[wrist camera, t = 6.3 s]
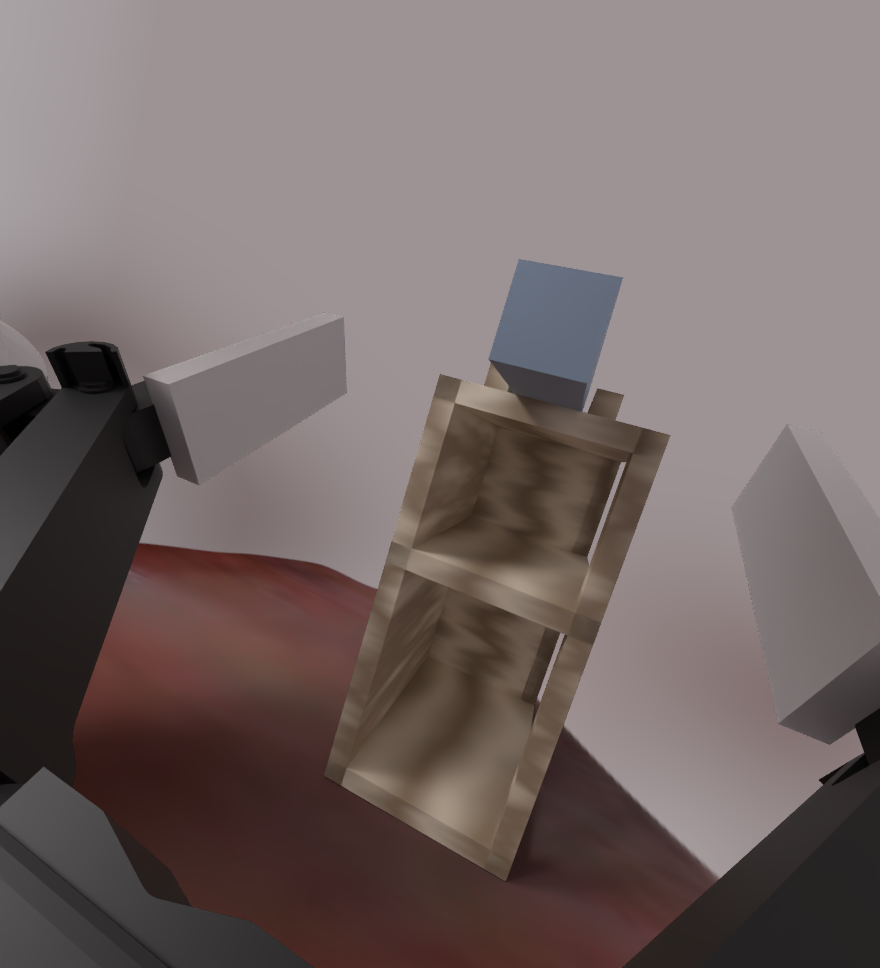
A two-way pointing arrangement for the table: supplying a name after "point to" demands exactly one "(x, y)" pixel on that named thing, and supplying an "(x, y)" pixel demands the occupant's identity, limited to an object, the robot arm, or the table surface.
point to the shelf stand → (488, 610)
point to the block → (553, 331)
